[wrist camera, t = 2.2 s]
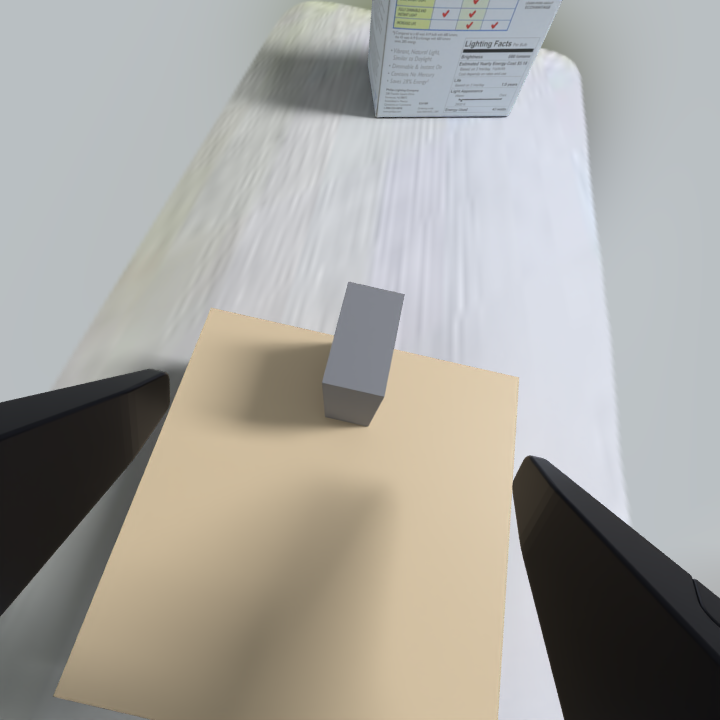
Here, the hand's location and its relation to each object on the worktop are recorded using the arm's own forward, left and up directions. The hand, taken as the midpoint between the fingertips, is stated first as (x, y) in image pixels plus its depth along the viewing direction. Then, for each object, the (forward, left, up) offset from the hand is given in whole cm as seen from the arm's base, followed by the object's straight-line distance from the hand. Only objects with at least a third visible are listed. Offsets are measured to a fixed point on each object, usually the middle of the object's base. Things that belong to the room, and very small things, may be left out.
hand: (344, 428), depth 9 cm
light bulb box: (+29, -1, -10) cm, 31 cm away
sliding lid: (-2, 0, -5) cm, 5 cm away
